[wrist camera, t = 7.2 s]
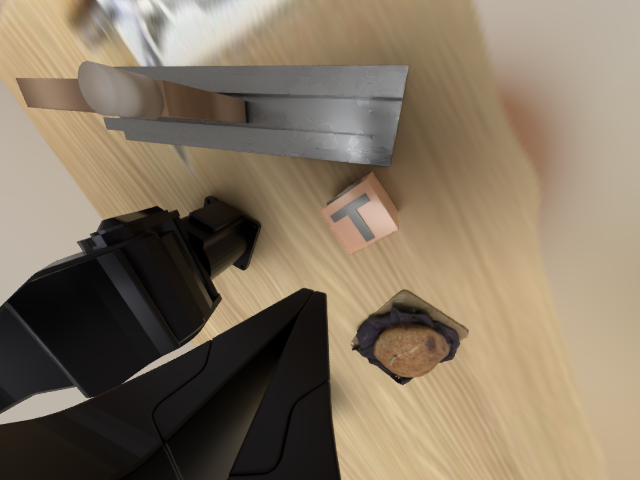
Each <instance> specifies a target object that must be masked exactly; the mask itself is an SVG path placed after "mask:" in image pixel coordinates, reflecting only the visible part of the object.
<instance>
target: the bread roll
mask: <svg viewBox="0 0 640 480" xmlns="http://www.w3.org/2000/svg"><path fill="white" fill-rule="evenodd" d="M467 336H468V329H467V328H466V327H464V326H463V325H461V324H459V323H457V322H456V321H454V320H453V319H451V318H450V317H448V316H447V315H445V314H444V313H442V312H441V311H439V310H438V309H436V308H434V307H433V306H432V305H430V304H428V303H427V302H425V301H424V300H422V299H421V298H419V297H418V296H416V295H415V294H413V293H412V292H410V291H408V290H402V291H400V292H399V293H398V294H396V295H395V296H394V297H392V298H391V299H390V300H389V301H388V302H387V303H386V304H385V305H383V306H382V307H381V308H380V309H379V310H378V311H377V312H376V313H375V314H374V315H372V316H371V317H370V318H368V320H367V321H365V323H364V324H363V325H362V326H361V328H359V330H357V334H356V336H355V337H354V339H353V340H352V341H351V342H353V343H354V345H355V346H354V345H352V344H351V346H352V347H353V348H352V350H357V351H358V352H359V353H360V354H361V355H362V356H363V357H367V359H368V360H369V363H371V364H374V365H376V366H378V367H379V368H380V369H381V370H382V371H384V372H385V373H386V374H388V375H390V377H391V378H392V379H394V380H395V381H396V382H397V383H400V384H402V385H404V384H406V383H407V382H409V381H410V380H411V379H413V378H414V377H420V376H423V375H425V374H427V373H429V372H430V371H432V369H434V367H435V366H436V365H437V364H438V363H442V362H444V361H448V360H452V359H453V358H454V356H455V353H456V351H457V348H458V347H459V345H460V341H461V340H462V339H464V338H466V337H467ZM356 342H357V343H356ZM395 376H397V377H395ZM398 378H399V379H398Z"/></svg>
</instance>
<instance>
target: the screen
mask: <svg viewBox="0 0 640 480" xmlns="http://www.w3.org/2000/svg"><path fill="white" fill-rule="evenodd" d="M16 80H17V83H18V85H19V87H20V90H21V92H22V94H23V97H24V99H25V101H26V104H27V106H28V107H33V108H45V109H57V110H69V111H81V112H93V113H98V114H101V115H107V116H120V117H133V118H146V119H157V118H173V119H188V120H203V121H219V122H234V123H246V113H245V100H242V99H238V98H234V97H230V96H226V95H222V94H218V93H214V92H210V91H206V90H201V89H197V88H193V87H189V86H185V85H181V84H177V83H173V82H169V81H165V80H153V79H152V78H150V77H149V76H146V75H142V74H138V73H134V72H130V71H126V70H122V69H118V68H114V67H110V66H106V65H102V64H98V63H94V62H90V61H85V62H83V63H82V64H81V65H80V67H79V70H78V79H49V78H16Z"/></svg>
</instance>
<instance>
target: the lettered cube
mask: <svg viewBox="0 0 640 480" xmlns="http://www.w3.org/2000/svg"><path fill="white" fill-rule="evenodd" d="M326 204H327V205H326V206H325V207H324V208H323V209H322V210H320V211H319V212H320V213H321V214H322V216H323V217H324V219H325V220H326V221H327V223H328V224H329V226H330V227H331V228H332V230H333V231H334V233H335V234H336V235H337V237H338V238H339V240H340V241H341V242H342V244H343V245H344V247H345V248H346V249H347V251H348V252H349V254H350V255H351V254H353V253H354V252H356V251H358V250H360V249H362V248H364V247H366V246H368V245H370V244H372V243H374V242H376V241H377V240H379V239H381V238H383V237H385V236H387V235H389V234H391V233H393V232H395V231H397V230H399V212H398V210H397V209H396V207H395V206H394V204H393V202H392V201H391V199H390V198H389V196H388V195H387V193H386V192H385V190H384V189H383V187H382V185H381V184H380V182H379V181H378V179H377V178H376V176H375V175H374V173H373V172H371V173H369V174H368V175H367V176H365V177H364V178H362V179H360V180H359V181H357V182H356V183H354V182H353V183H352V184H351V185H349V186H348V187H346V188H345V189H344V190H343V191H342V192H341V193H340V194H339V195H337V196H336V197H334V198H333V199H331V200H330V201H329V202H327V203H326Z"/></svg>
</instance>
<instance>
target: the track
mask: <svg viewBox="0 0 640 480" xmlns="http://www.w3.org/2000/svg"><path fill="white" fill-rule="evenodd" d="M114 68H118V69H122V70H126V71H130V72H134V73H138V74H142V75H146V76H149V77H150V78H152V79H153V80H165V81H169V82H173V83H177V84H181V85H185V86H189V87H193V88H197V89H201V90H206V91H210V92H214V93H218V94H222V95H226V96H230V97H234V98H238V99H242V100H245V113H246V123H234V122H219V121H203V120H188V119H173V118H157V119H146V118H133V117H120V118H121V119H120V118H106V117H103V118H104V122H105V125H106V128H107V129H108V130H120V131H124V133H125V136H126V140H134V141H144V142H154V143H164V144H173V145H183V146H193V147H203V148H213V149H222V150H232V151H242V152H252V153H262V154H272V155H281V156H291V157H301V158H311V159H321V160H330V161H340V162H350V163H360V164H370V165H379V166H389V167H390V164H391V159H392V153H393V148H394V143H395V137H396V132H397V127H398V122H399V116H400V111H401V106H402V100H403V95H404V90H405V85H406V79H407V74H408V68H409V65H347V66H186V67H114Z"/></svg>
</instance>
